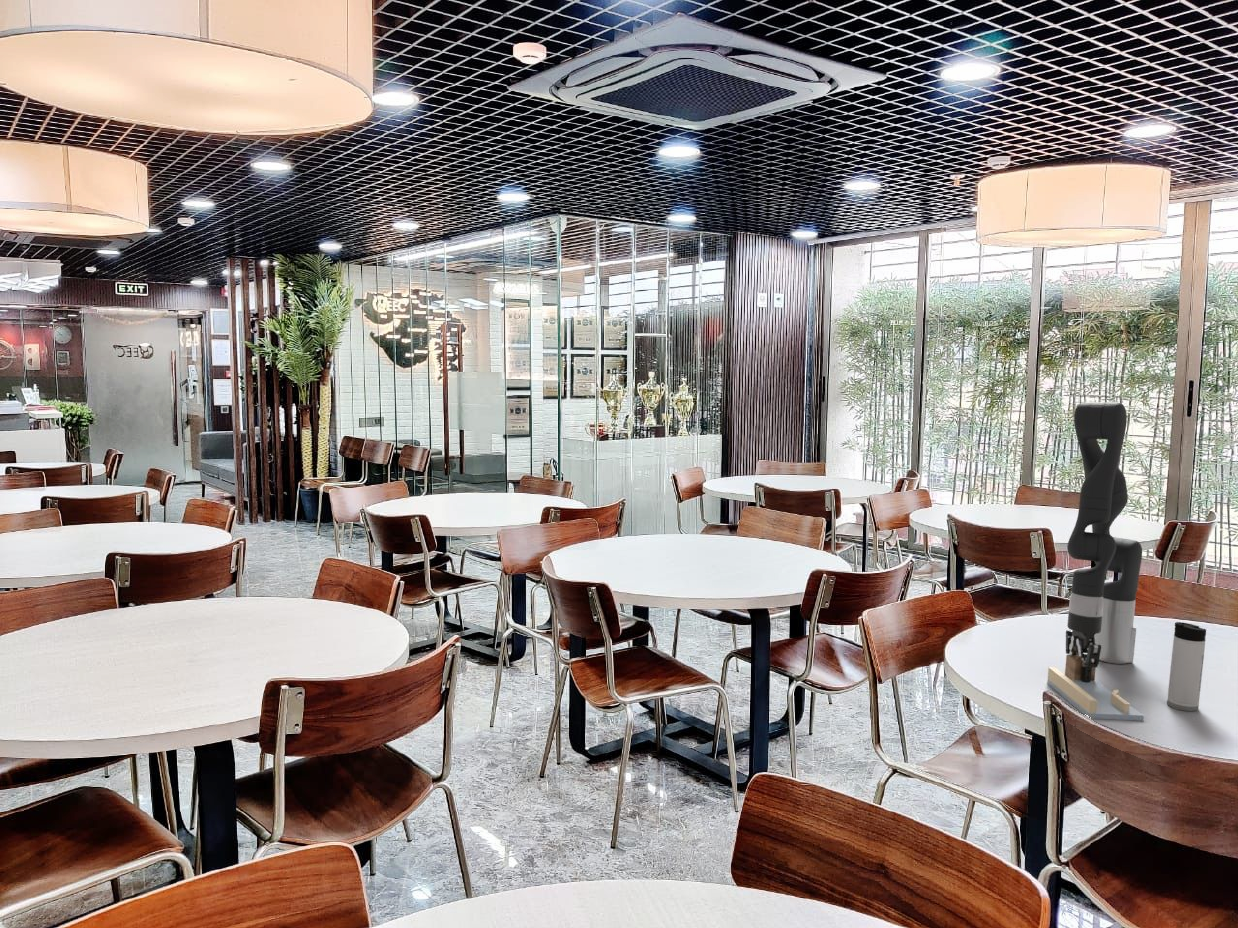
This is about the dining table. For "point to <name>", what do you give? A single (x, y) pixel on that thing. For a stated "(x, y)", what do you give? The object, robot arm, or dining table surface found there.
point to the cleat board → (1092, 698)
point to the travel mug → (1186, 667)
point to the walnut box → (1075, 668)
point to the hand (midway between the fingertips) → (1079, 677)
